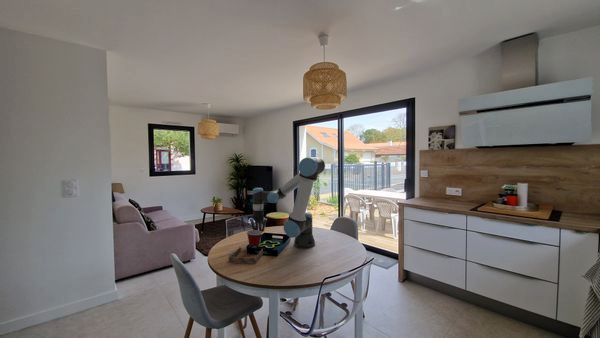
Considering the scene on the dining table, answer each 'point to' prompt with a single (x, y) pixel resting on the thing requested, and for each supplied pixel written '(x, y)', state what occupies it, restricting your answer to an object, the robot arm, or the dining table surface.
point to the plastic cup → (254, 237)
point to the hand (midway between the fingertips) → (258, 241)
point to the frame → (244, 259)
